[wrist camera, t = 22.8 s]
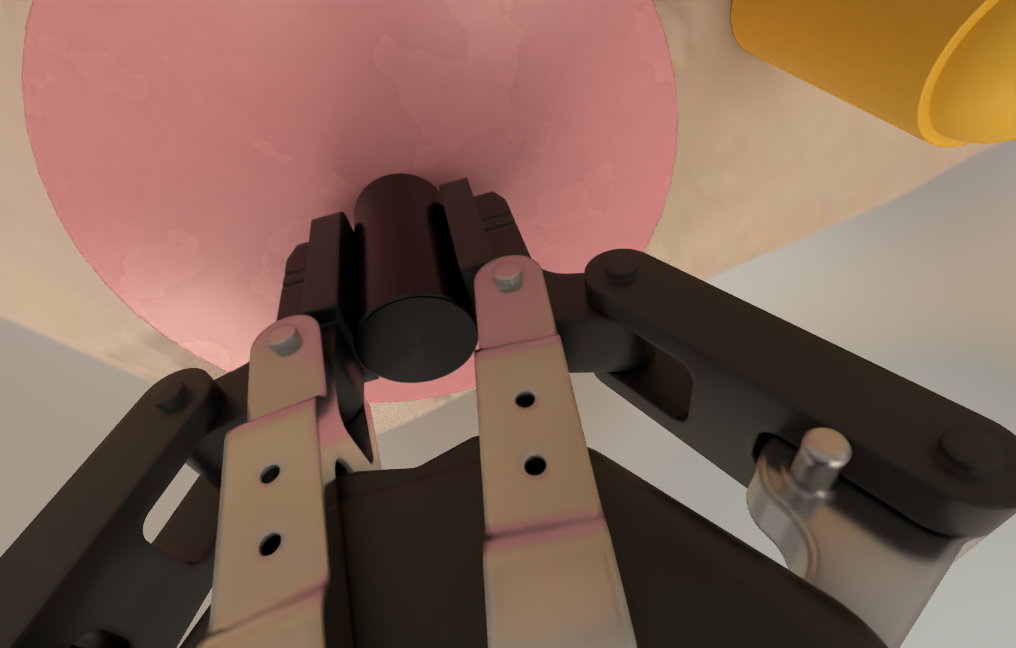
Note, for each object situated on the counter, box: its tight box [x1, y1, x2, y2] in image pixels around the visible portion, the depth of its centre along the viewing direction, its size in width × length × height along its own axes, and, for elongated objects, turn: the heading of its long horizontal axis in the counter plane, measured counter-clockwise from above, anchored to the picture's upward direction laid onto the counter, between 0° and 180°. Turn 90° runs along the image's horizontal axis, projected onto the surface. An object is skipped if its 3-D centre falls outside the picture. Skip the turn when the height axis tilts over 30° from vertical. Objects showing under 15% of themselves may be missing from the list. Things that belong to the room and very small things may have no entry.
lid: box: [22, 0, 678, 403], centre depth 12 cm, size 15×15×6 cm
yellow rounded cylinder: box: [731, 0, 1016, 147], centre depth 16 cm, size 5×5×11 cm
